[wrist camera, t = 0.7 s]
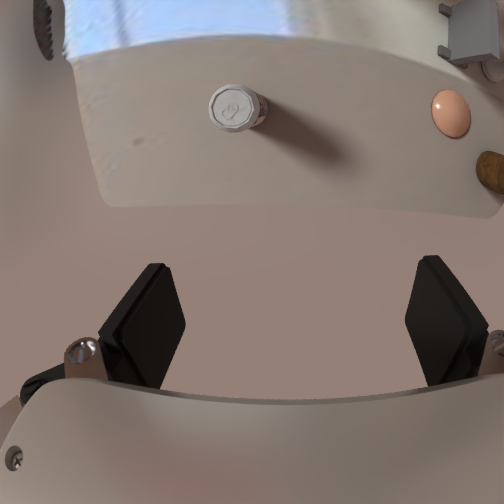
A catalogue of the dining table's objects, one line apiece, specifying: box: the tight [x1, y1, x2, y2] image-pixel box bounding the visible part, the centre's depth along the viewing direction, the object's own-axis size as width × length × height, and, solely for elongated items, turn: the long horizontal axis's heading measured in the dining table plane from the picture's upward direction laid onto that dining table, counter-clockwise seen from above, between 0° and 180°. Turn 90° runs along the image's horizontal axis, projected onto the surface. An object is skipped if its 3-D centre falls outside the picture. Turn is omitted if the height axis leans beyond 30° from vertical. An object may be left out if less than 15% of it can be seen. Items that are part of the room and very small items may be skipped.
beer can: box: [209, 84, 268, 132], centre depth 28 cm, size 5×5×12 cm
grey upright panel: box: [438, 0, 500, 68], centre depth 18 cm, size 10×5×11 cm, turn 172°
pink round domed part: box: [431, 90, 470, 137], centre depth 28 cm, size 7×7×1 cm
